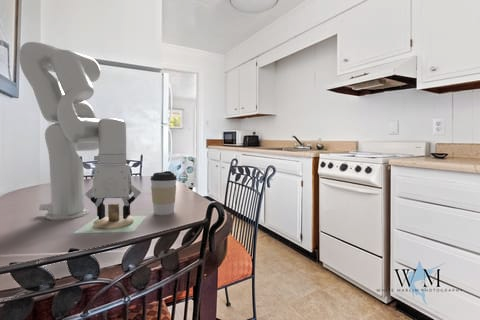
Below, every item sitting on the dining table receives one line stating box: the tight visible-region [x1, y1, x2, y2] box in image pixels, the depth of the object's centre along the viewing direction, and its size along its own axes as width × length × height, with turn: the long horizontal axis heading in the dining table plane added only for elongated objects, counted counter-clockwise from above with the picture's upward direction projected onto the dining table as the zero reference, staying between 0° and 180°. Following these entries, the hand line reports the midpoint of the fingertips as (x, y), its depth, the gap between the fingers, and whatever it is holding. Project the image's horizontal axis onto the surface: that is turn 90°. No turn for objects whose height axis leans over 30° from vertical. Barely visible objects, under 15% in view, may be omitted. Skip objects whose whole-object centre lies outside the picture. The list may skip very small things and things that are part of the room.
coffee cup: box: [150, 170, 178, 216], centre depth 93 cm, size 9×9×15 cm
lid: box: [93, 202, 133, 229], centre depth 79 cm, size 11×11×6 cm
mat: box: [73, 215, 148, 234], centre depth 80 cm, size 16×16×1 cm
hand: (114, 217), depth 80 cm, fingers open, 6 cm apart
